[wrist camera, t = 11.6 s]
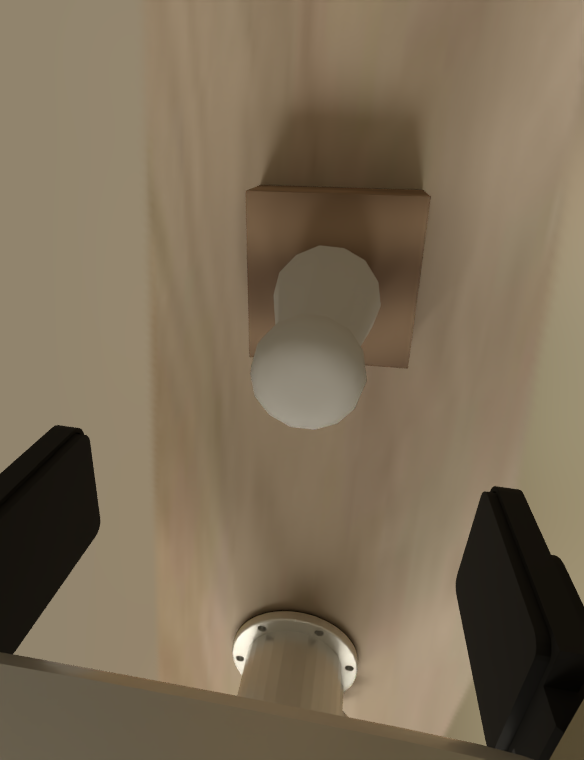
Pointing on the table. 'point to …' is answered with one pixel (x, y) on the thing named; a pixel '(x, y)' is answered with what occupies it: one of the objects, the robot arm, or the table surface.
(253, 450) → the table surface
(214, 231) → the table surface
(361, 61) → the table surface
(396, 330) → the block
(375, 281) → the salt shaker
